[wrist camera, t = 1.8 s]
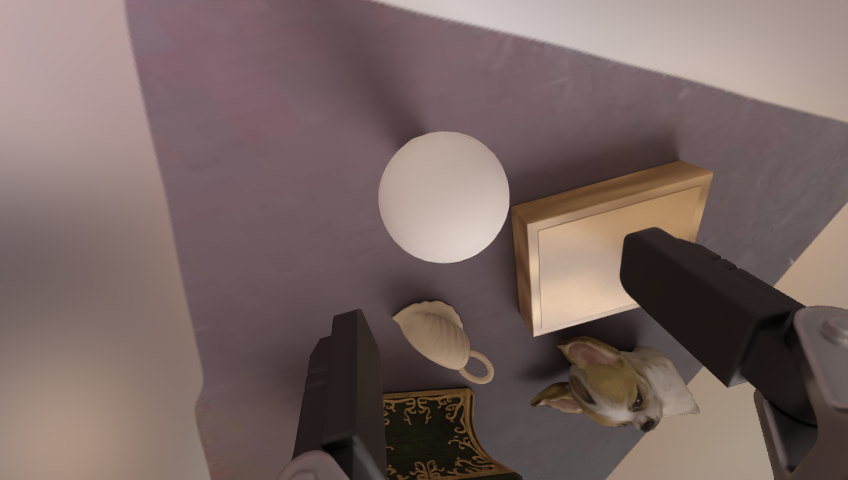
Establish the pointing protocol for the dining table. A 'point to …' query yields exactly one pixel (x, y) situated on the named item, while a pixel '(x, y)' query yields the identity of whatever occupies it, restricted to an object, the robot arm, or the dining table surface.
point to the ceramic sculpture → (618, 385)
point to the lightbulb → (444, 197)
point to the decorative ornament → (440, 337)
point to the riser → (597, 241)
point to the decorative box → (436, 438)
